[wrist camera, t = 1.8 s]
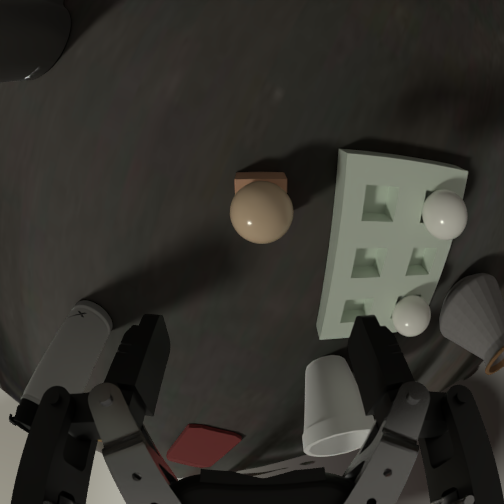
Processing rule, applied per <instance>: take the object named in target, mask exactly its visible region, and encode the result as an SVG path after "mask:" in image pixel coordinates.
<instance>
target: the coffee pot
mask: <svg viewBox="0 0 504 504" xmlns="http://www.w3.org/2000/svg"><path fill="white" fill-rule="evenodd" d="M439 323H440V331H441V333H442V335H443V336H444V337H446V338H448V339H449V340H451V341H453V342H455V343H456V344H458V345H460V346H461V347H463V348H465V349H466V350H468V351H470V352H471V353H473V354H475V355H477V356H478V357H480V358H482V359H483V360H484V361H485V365H486V369H485V373H486V374H487V375H490V374H493V373H495V372H496V371H498V370H499V369H501V368H502V367H504V302H503V299H502V295H501V292H500V289H499V286H498V282H497V280H496V279H495V278H494V276H492V275H489V274H486V273H477V274H473V275H469V276H466V277H464V278H462V279H461V280H459V281H458V282H457V283H456V284H455V285H454V286H453V287H452V288H451V289H450V291H449V292H448V294H447V295H446V297H445V299H444V302H443V306H442V309H441V313H440V317H439Z"/></svg>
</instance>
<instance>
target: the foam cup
mask: <svg viewBox="0 0 504 504" xmlns="http://www.w3.org/2000/svg"><path fill="white" fill-rule="evenodd" d="M373 424H374V418H373V416H372V415H368V416H366V415H365V411H364V407H363V403H362V400H361V396H360V392H359V389H358V385H357V383H356V381H355V379H354V377H353V374H352V372H351V370H350V368H349V366H348V364H347V362H346V360H345V359H344V358H343V357H341V356H337V355H328V356H323V357H320V358H318V359H316V360H314V361H312V362H311V363H310V364H309V365H308V366H307V368H306V375H305V417H304V434H303V436H302V439H303V449H304V452H305V453H306V454H307V455H310V456H318V457H322V456H334V455H339V454H343V453H347V452H350V451H353V450H356V449H359V448H361V447H362V445H363V443H364V441H365V440H366V438H367V436H368V434H369V432H370V430H371V428H372V426H373Z"/></svg>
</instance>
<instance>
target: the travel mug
mask: <svg viewBox="0 0 504 504" xmlns="http://www.w3.org/2000/svg"><path fill="white" fill-rule="evenodd" d="M112 327H113V325H112V320H111V318H110V316H109V315H108V313H107V312H106V311H105V310H104V309H103V308H102V307H101V306H99V305H98V304H96V303H94V302H91V301H87V300H82V301H79V302H77V303H76V305H75V306H74V308H73V309H72V311H71V312H70V314H69V315H68V317H67V318H66V320H65V321H64V323H63V324H62V326H61V328H60V329H59V331H58V332H57V334H56V336H55V337H54V339H53V340H52V342H51V344H50V345H49V347H48V349H47V351H46V352H45V354H44V356H43V357H42V359H41V361H40V363H39V365H38V366H37V368H36V370H35V372H34V374H33V376H32V377H31V379H30V381H29V383H28V385H27V387H26V389H25V391H24V395H22V397H21V400H20V405H18V407H17V410H16V415H15V417H12V414H10V416H9V420H10V422H11V423H12V424H13V425H15V426H16V425H17V426H19V427H20V428H21V429H23V430H25V431H26V432H28V433H29V431H30V428H31V425H32V422H33V420H34V417H35V414H36V411H37V409H38V406H39V404H40V401H41V399H42V396H43V394H44V393H45V391H46V390H47V389H49V388H50V387H53V386H62V387H64V388H65V389H66V390H67V391H68V392H69V393H70V394H77V393H83V391H84V389H85V387H86V384H87V382H88V380H89V377H90V375H91V373H92V370H93V368H94V366H95V364H96V362H97V359H98V357H99V355H100V353H101V351H102V349H103V346H104V344H105V342H106V340H107V338H108V336H109V334H110V332H111V330H112Z"/></svg>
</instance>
